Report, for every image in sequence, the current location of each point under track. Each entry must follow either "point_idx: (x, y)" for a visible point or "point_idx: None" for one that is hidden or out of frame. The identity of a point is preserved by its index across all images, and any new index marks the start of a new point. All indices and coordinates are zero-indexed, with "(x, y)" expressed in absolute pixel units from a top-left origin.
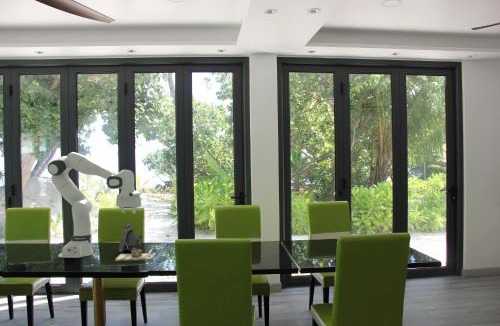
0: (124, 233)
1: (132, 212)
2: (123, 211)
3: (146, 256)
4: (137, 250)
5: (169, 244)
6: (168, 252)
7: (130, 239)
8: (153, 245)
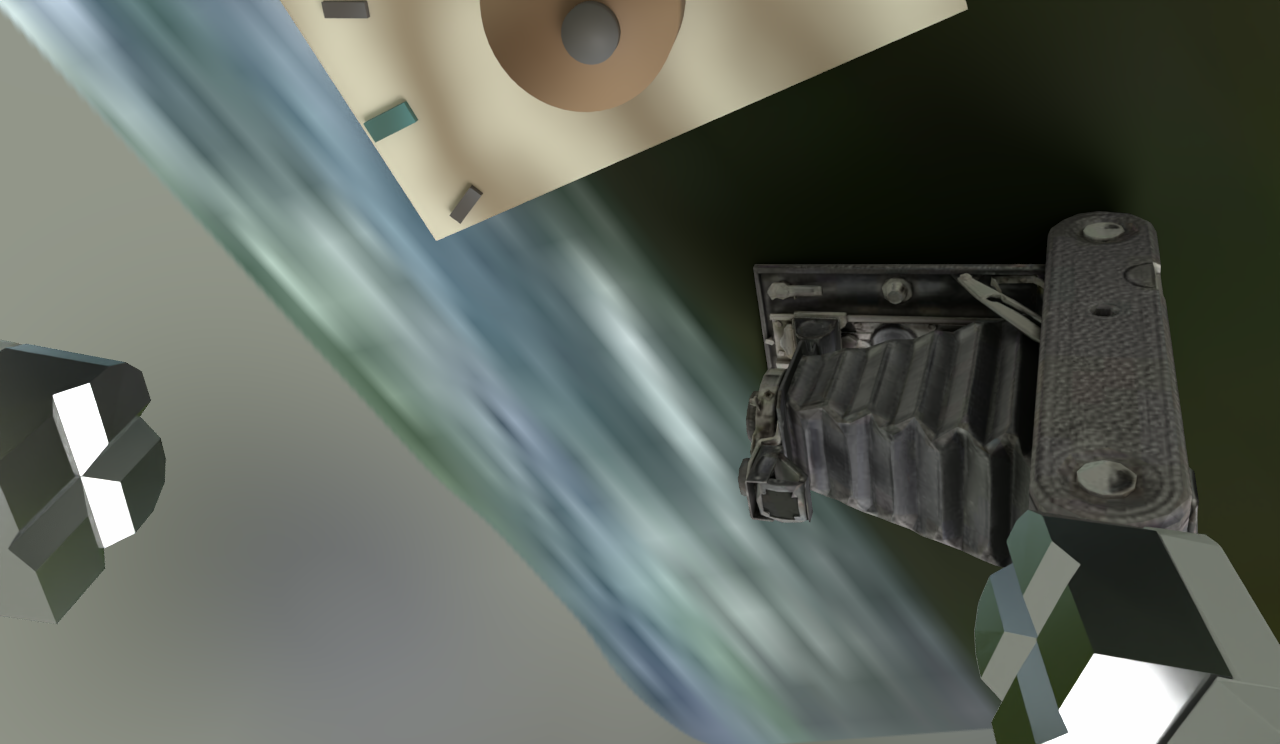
0: (1103, 415)
1: (14, 392)
2: (1073, 616)
3: (400, 2)
4: (563, 27)
5: (652, 691)
6: (384, 383)
7: (954, 394)
8: (814, 636)
